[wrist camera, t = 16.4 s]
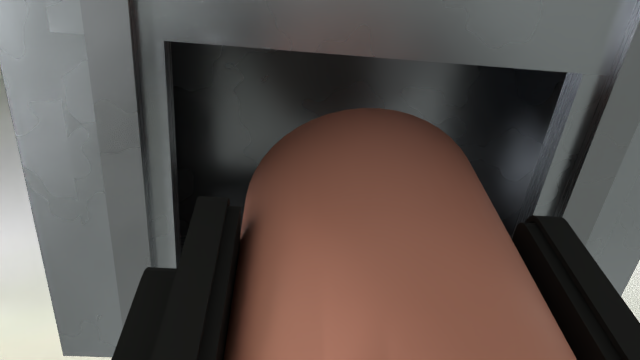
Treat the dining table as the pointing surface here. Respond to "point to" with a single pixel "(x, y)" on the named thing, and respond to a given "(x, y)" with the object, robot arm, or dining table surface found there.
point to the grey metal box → (304, 118)
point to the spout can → (380, 252)
